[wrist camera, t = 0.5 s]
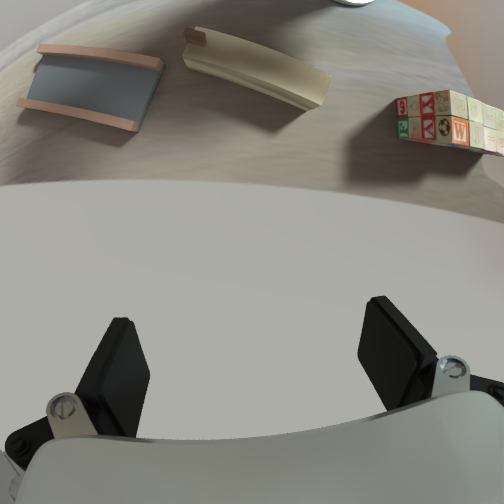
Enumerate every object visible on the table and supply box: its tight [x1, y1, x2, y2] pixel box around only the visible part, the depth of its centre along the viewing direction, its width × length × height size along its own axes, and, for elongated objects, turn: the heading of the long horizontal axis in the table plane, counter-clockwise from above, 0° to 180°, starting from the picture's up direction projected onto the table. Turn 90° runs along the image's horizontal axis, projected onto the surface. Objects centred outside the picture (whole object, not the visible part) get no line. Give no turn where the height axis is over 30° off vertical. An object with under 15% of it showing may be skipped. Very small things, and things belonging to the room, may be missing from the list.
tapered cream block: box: [181, 26, 333, 111], centre depth 27 cm, size 4×16×9 cm, turn 69°
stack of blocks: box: [396, 90, 504, 157], centre depth 29 cm, size 21×6×12 cm, turn 93°
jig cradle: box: [17, 44, 165, 132], centre depth 27 cm, size 9×20×3 cm, turn 69°
